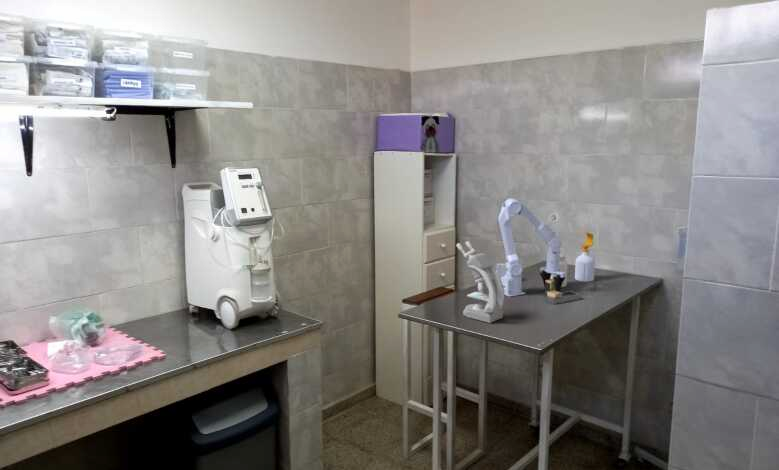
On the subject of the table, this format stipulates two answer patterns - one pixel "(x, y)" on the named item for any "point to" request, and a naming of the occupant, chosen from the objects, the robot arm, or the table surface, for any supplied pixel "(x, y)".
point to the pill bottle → (562, 269)
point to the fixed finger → (554, 294)
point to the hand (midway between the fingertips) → (552, 289)
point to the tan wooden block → (550, 285)
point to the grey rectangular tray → (563, 297)
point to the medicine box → (501, 270)
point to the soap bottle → (585, 262)
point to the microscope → (492, 301)
